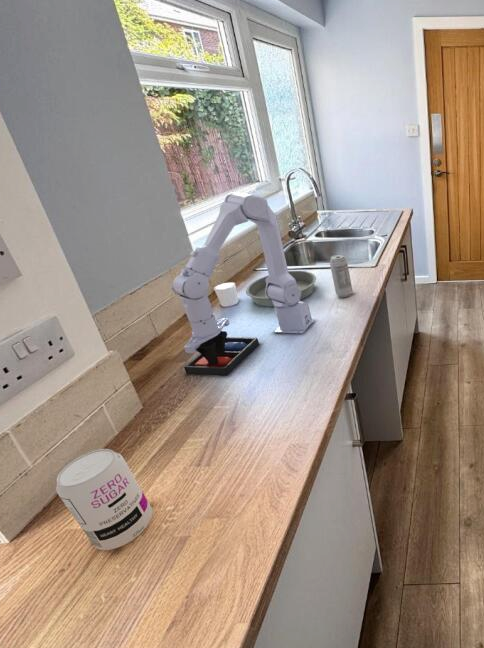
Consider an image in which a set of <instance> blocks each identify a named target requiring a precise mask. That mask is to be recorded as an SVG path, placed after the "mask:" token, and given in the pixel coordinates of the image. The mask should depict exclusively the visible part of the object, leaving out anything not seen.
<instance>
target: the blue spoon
mask: <svg viewBox="0 0 484 648" xmlns="http://www.w3.org/2000/svg"><path fill="white" fill-rule="evenodd" d="M246 346H247V345H246V344H245V343H243V342H228V343H225V351H228V350H231V351H242V350H243V349H244V348H245V347H246Z"/></svg>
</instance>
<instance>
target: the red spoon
mask: <svg viewBox="0 0 484 648" xmlns="http://www.w3.org/2000/svg"><path fill="white" fill-rule="evenodd" d="M217 358H218V364H216V365H219V366H226V365H227V364H228V363H229V362H230V361H231V359H230V358H229V357H217ZM211 365H215V364H209V362H208V361H207V360H206V359H205V357H203V358H201V359H200V360H199V361H198V362H197V363H195V366H211Z"/></svg>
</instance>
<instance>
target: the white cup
mask: <svg viewBox="0 0 484 648" xmlns="http://www.w3.org/2000/svg"><path fill="white" fill-rule="evenodd" d="M213 290H214V292H215V295H216V296H217V298H218V301H219V303H220V306H222V307H224V308H225V307H232V306H235V305H237V304H238V303H239V296H238V292H237V291H238V290H237V286H236V282H232V281H227V282H223V283H219V284H217V285H215V286H214V287H213Z"/></svg>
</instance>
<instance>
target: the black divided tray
mask: <svg viewBox="0 0 484 648" xmlns="http://www.w3.org/2000/svg"><path fill="white" fill-rule="evenodd" d="M228 342H243V343H245V344H246V345H247V346H246V347H245V348H244V349H243V350H242V351H231V350H228V351H225V357H229V358H230V359H231V361H230V362H229V363H228V364H227V365H226V366H219V365H211V366H195V363H197V362H198V361H199V360H200V359H201V358H203V357H204V356H203V355H201V354H200V353H198V355H197V356H195V357H194V358H193V359H192V360H191V361H189V362H188V363H187V364H185V365H184V366H183V368H184V371H185V373H186V375H194V376H195V375H197V376H218V377H220V376H221V377H222V376H223V377H228V376H229V375H230V374H231V373H232V372H233V371H234V370H235V369H237V367H238V366H240V364H241V363H242V362H244V360H246V359H247V358H248V357H249V356H250V355H251V354H252V353H253V352H254V351H255V350H257V348H258V347H259V346H260V342H259V339H258V337H244V336H243V337H240V336H239V337H235V336H227V337H226V341H225V343H228Z"/></svg>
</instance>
